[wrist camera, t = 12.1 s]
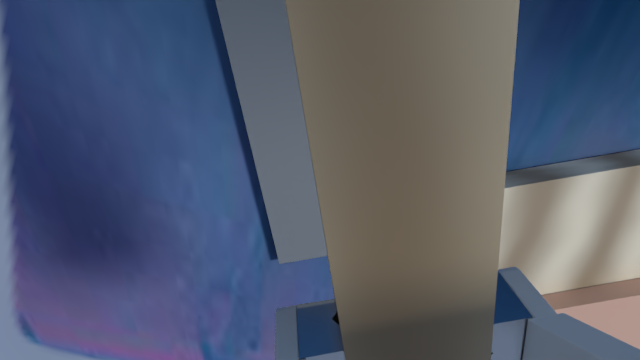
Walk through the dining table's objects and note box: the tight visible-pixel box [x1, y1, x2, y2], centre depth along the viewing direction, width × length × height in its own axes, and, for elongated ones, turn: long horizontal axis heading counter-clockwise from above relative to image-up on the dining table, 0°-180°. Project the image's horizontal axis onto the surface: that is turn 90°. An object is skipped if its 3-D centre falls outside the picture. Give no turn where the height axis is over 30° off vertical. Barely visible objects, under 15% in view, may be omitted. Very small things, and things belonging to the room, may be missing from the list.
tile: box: [542, 278, 640, 349], centre depth 32 cm, size 12×2×12 cm
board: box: [498, 149, 640, 295], centre depth 32 cm, size 22×24×2 cm
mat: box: [215, 0, 328, 264], centre depth 22 cm, size 10×26×1 cm, turn 8°
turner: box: [284, 0, 520, 360], centre depth 9 cm, size 6×20×3 cm, turn 8°
